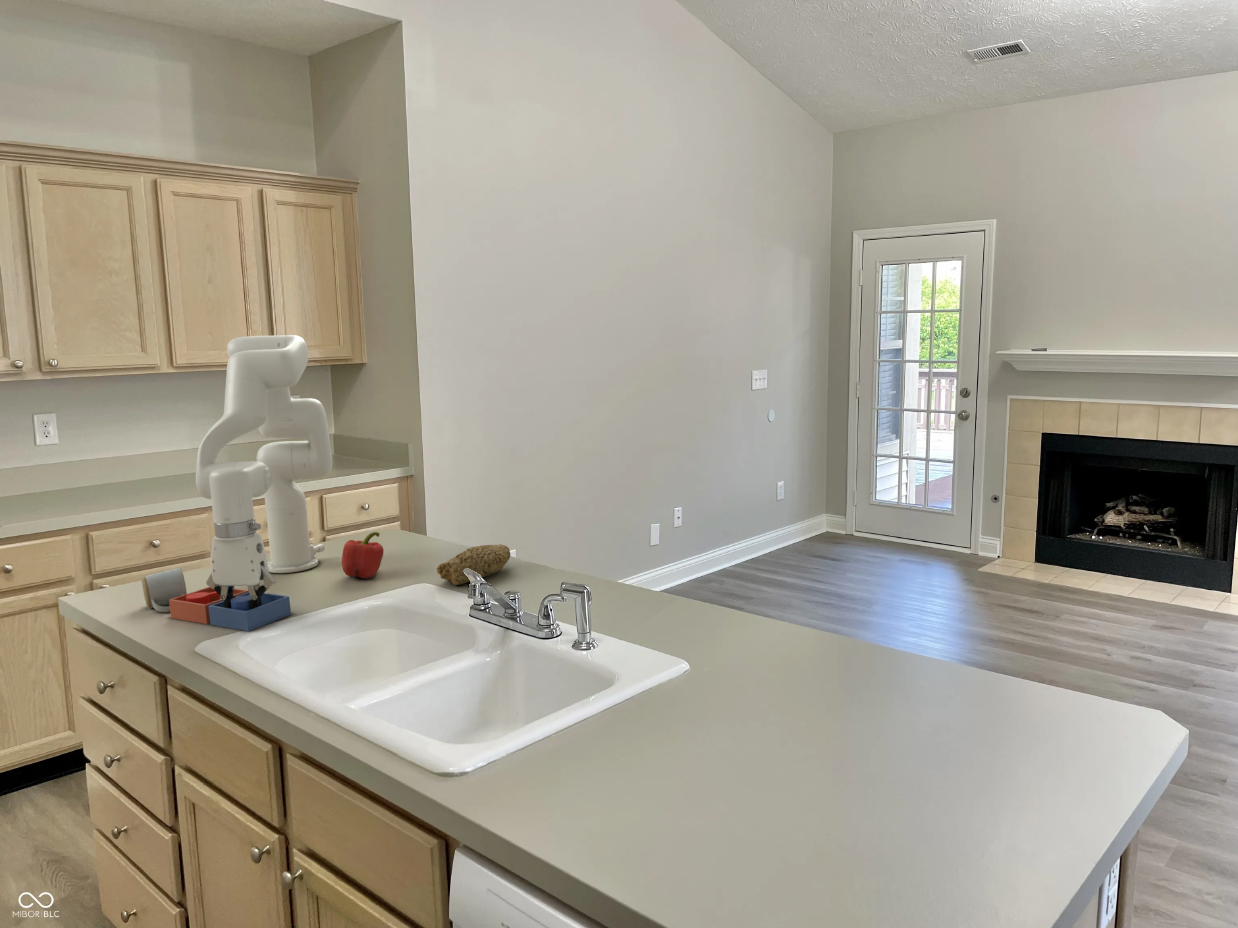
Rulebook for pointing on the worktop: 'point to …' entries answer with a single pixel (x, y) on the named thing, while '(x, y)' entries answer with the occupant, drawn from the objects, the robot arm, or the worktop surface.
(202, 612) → the red bin
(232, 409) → the robot arm
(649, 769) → the worktop surface
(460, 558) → the sponge
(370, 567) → the vegetable
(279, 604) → the blue bin
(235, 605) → the blue scoop
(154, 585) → the ceramic mug
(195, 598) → the red scoop
